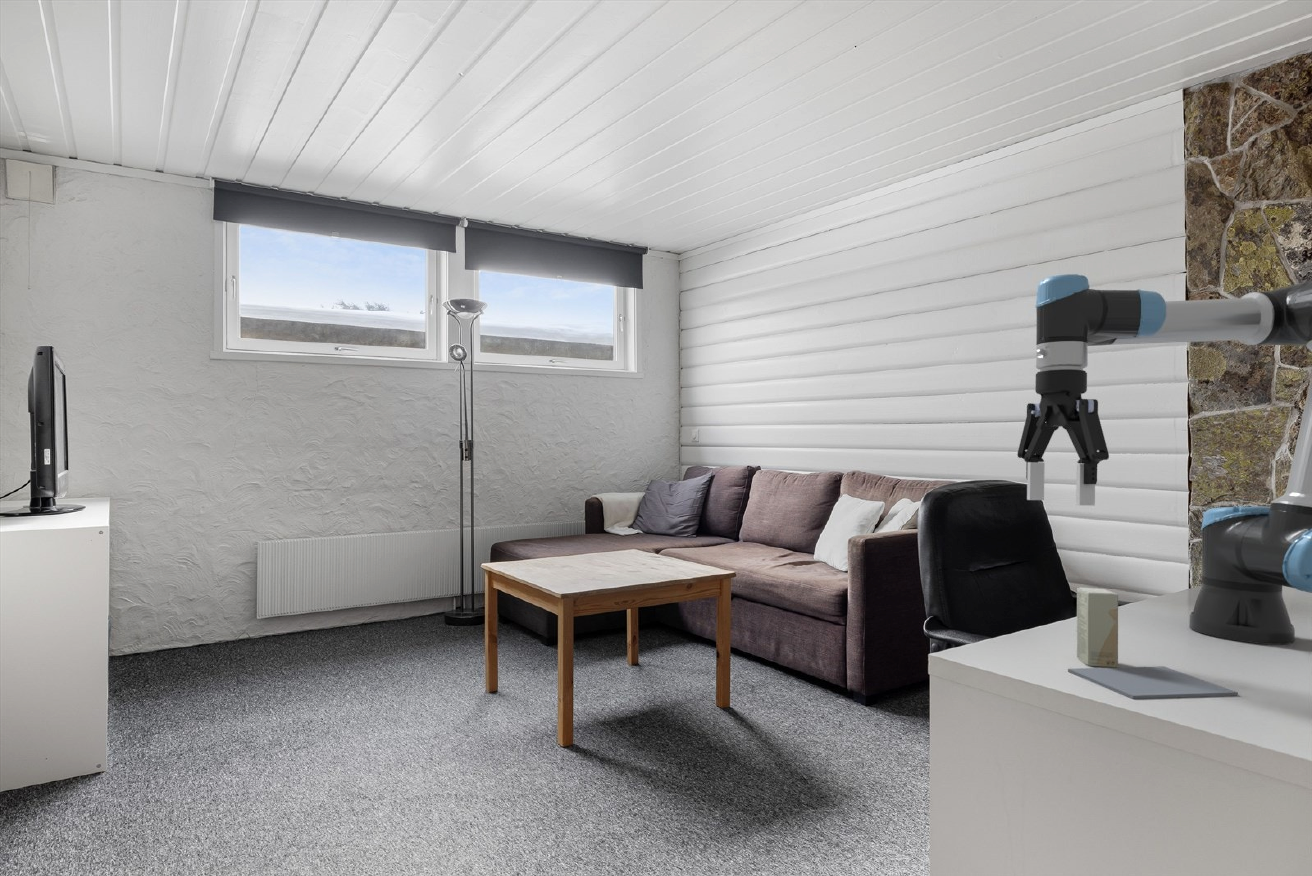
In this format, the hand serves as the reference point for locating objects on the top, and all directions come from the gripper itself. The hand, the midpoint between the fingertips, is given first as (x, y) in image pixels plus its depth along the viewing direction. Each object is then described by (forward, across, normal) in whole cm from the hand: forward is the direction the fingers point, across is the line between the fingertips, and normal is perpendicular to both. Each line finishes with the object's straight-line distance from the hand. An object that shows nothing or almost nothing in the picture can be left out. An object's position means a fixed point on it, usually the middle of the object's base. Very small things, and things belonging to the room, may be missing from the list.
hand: (1059, 502), depth 124 cm
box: (+24, +9, 0) cm, 26 cm away
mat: (+24, +19, 0) cm, 30 cm away
